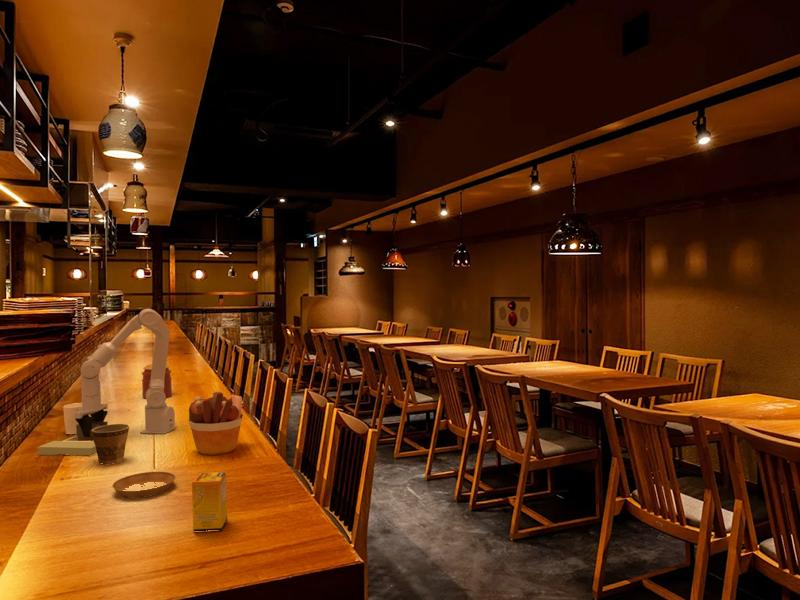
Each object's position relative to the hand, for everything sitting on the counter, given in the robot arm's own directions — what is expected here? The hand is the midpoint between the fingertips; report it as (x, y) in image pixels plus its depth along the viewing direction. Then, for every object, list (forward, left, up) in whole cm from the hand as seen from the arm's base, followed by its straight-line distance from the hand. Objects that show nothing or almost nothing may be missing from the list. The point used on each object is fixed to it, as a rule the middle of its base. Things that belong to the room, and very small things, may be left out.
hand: (92, 434), depth 195 cm
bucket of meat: (-50, +11, -2) cm, 51 cm away
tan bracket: (-4, +12, -1) cm, 13 cm away
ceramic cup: (-21, +23, -2) cm, 31 cm away
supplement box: (-73, +65, -2) cm, 98 cm away
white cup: (+11, -7, -2) cm, 13 cm away
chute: (0, 0, -2) cm, 2 cm away
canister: (+17, -71, -2) cm, 73 cm away
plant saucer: (-46, +45, -2) cm, 64 cm away
